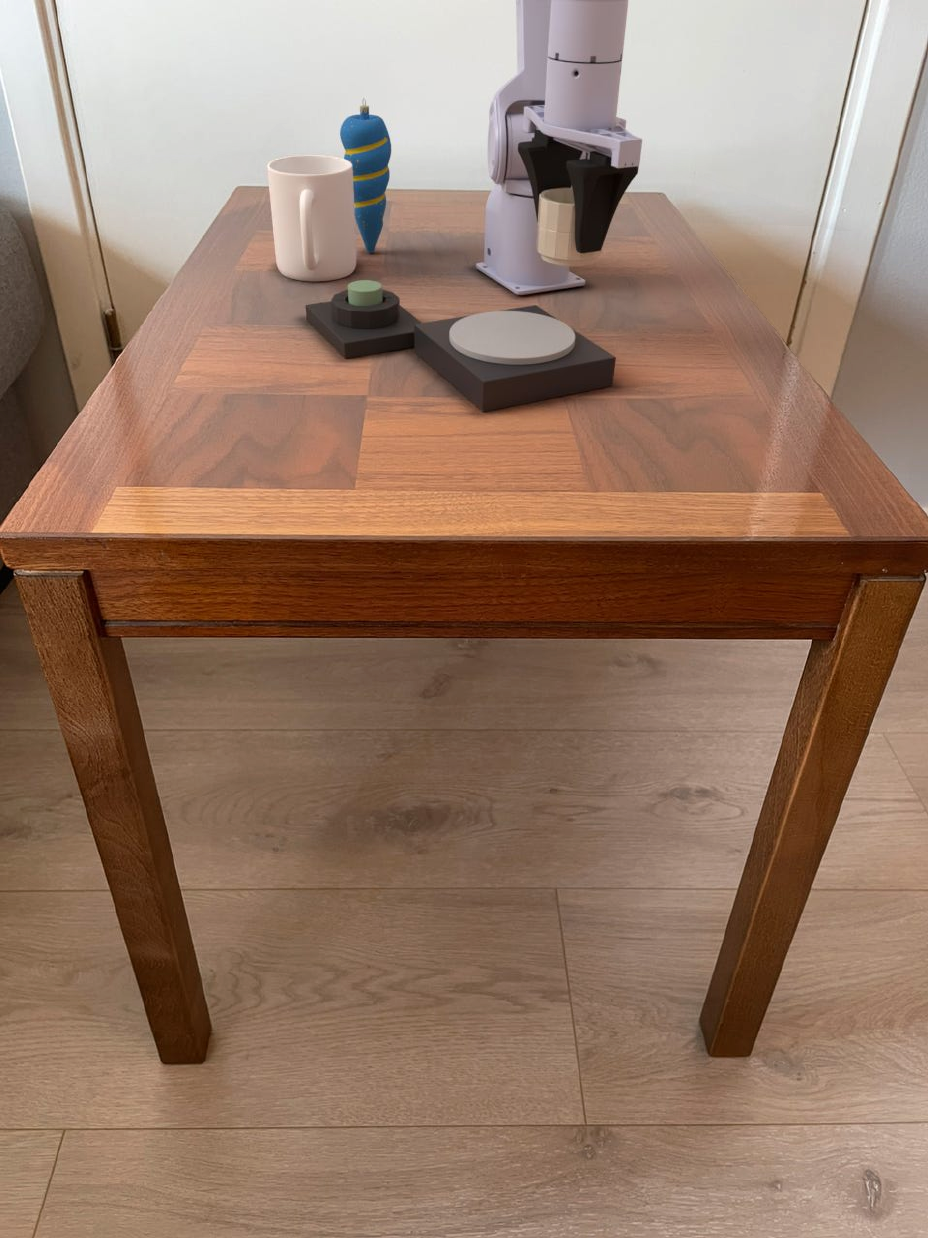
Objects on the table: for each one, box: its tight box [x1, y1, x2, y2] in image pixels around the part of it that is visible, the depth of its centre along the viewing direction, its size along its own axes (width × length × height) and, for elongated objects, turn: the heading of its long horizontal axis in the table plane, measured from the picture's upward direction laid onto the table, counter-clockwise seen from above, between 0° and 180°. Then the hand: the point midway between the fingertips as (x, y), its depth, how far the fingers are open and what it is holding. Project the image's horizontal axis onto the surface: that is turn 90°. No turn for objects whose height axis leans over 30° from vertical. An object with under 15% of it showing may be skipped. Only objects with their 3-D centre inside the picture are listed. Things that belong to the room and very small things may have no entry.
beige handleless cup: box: [536, 188, 604, 267], centre depth 82 cm, size 6×6×5 cm
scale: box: [413, 304, 617, 413], centre depth 81 cm, size 13×12×3 cm
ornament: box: [339, 98, 392, 254], centre depth 102 cm, size 5×5×15 cm
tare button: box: [347, 279, 383, 306], centre depth 86 cm, size 3×3×2 cm
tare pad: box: [305, 289, 422, 359], centre depth 87 cm, size 10×8×3 cm
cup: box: [266, 154, 357, 282], centre depth 97 cm, size 8×12×10 cm
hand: (569, 240), depth 83 cm, fingers closed on beige handleless cup, 5 cm apart
